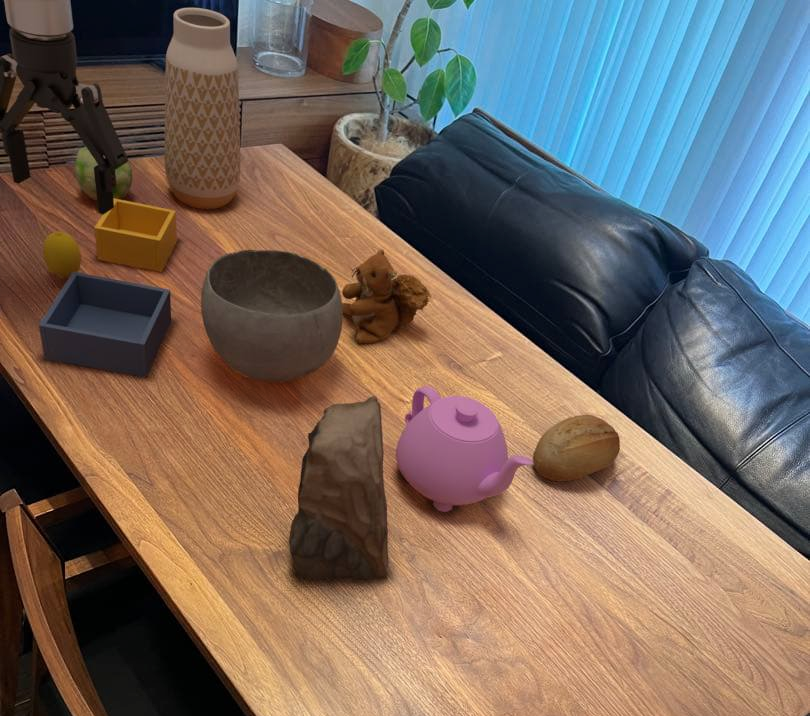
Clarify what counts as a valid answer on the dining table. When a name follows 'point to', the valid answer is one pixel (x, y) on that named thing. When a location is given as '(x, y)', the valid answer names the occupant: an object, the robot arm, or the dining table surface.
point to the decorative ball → (87, 177)
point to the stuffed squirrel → (382, 299)
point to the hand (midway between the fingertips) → (64, 195)
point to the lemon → (61, 254)
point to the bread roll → (576, 448)
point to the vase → (202, 110)
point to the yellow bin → (136, 235)
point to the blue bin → (106, 324)
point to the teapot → (454, 450)
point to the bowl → (271, 313)
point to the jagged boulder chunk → (342, 497)
